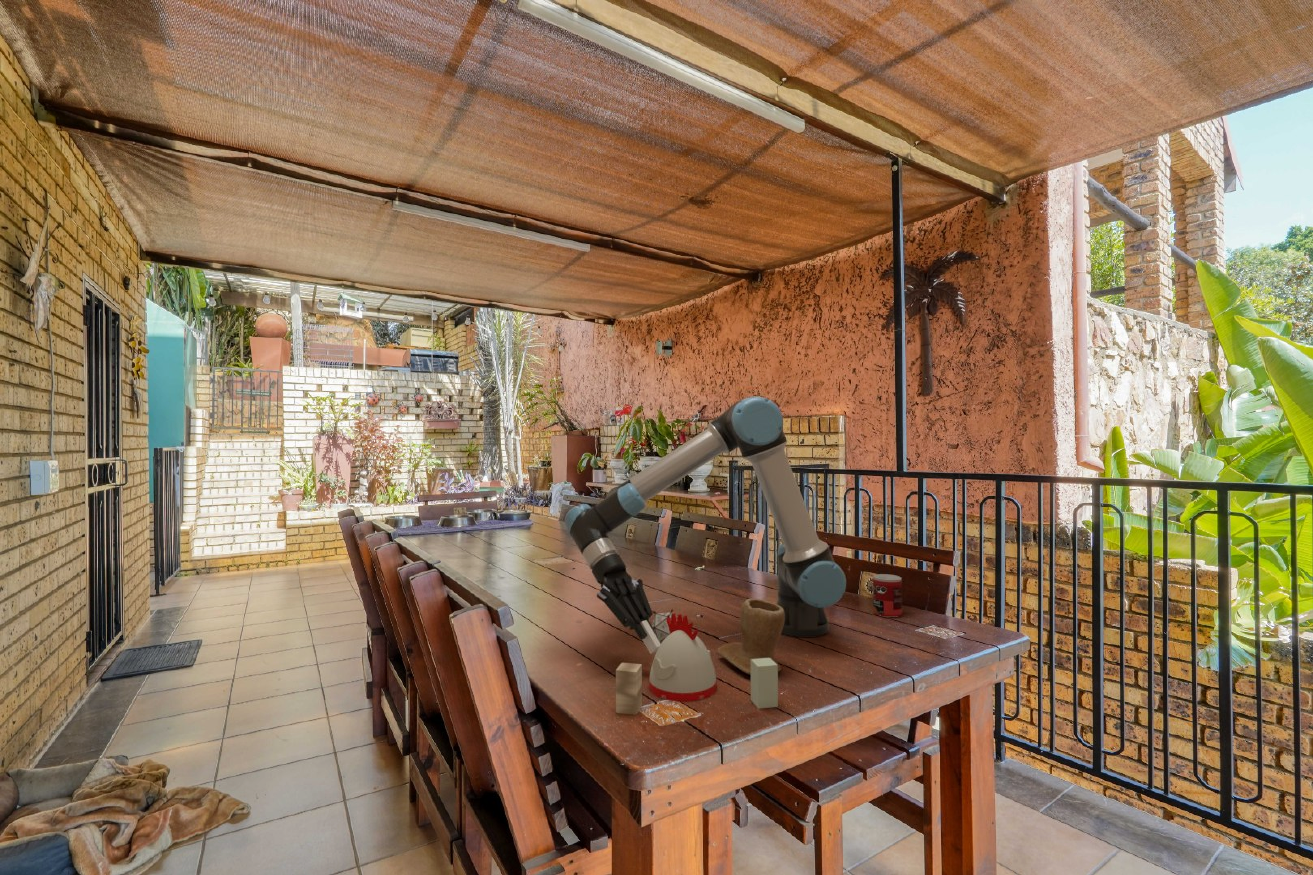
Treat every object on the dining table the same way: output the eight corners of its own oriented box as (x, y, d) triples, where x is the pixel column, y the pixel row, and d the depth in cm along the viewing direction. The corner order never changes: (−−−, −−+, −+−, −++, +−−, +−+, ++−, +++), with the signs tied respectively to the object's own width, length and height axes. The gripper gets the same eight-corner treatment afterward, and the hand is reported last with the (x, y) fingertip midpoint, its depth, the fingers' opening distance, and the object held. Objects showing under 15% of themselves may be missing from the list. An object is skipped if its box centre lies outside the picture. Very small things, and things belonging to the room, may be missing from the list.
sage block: (769, 697, 119) (769, 657, 119) (777, 706, 115) (777, 664, 115) (750, 699, 118) (750, 659, 118) (758, 708, 114) (757, 666, 114)
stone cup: (795, 675, 130) (795, 606, 130) (746, 682, 126) (746, 611, 126) (761, 652, 144) (760, 590, 145) (716, 658, 141) (716, 594, 141)
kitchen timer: (680, 669, 134) (679, 602, 134) (729, 686, 125) (729, 614, 125) (635, 687, 124) (635, 615, 124) (685, 707, 115) (685, 629, 115)
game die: (670, 659, 150) (679, 635, 144) (639, 645, 152) (646, 620, 146) (682, 632, 157) (690, 608, 152) (652, 619, 159) (659, 595, 153)
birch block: (642, 705, 116) (641, 664, 116) (636, 714, 112) (636, 671, 112) (622, 703, 116) (622, 662, 117) (616, 712, 113) (615, 670, 113)
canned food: (870, 610, 180) (870, 573, 180) (898, 611, 179) (897, 574, 179) (876, 617, 172) (875, 579, 172) (905, 618, 171) (904, 580, 171)
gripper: (617, 567, 148) (667, 651, 136) (576, 576, 138) (625, 667, 127) (632, 548, 144) (685, 633, 132) (590, 556, 135) (643, 647, 123)
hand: (655, 649), depth 129 cm, fingers closed
